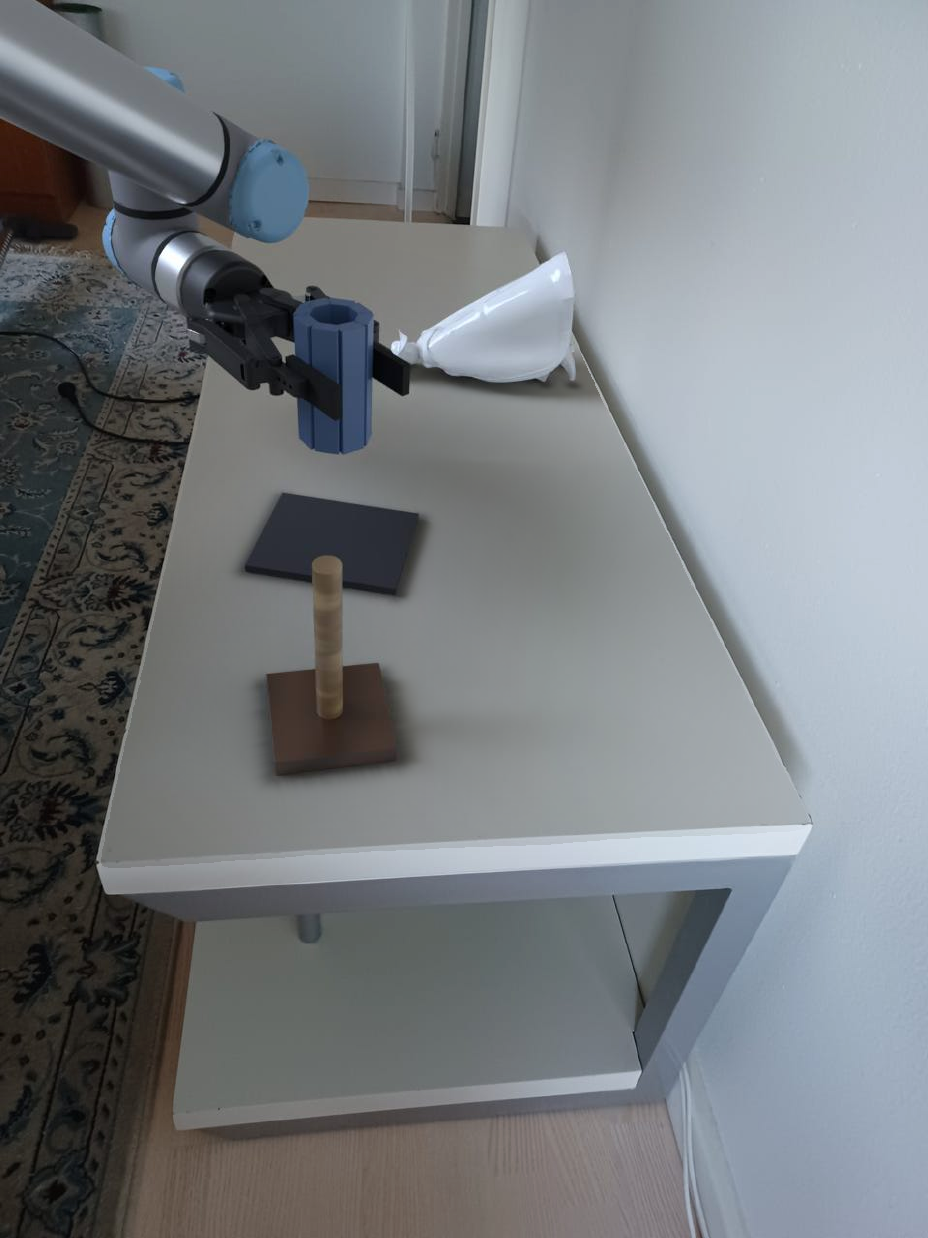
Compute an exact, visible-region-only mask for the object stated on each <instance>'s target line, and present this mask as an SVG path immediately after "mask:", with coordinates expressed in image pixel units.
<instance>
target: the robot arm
mask: <svg viewBox="0 0 928 1238" xmlns="http://www.w3.org/2000/svg"><path fill="white" fill-rule="evenodd" d="M0 119H1V120H3V121H5V122H7V123H9V124H10V125H13V126H16V127H18V128H19V129H22V130H24V131H25V132H28V133H30V134H32V135H34V136H37V137H38V138H40V139H42V140H45V141H46V142H47V141H48V143H51V144H53V145H55V146H57V147H59V148H61V149H63V150H65V151H67V152H70V153H72V154H74V155H76V156H78V157H80V158H82V159H84V160H86V161H89V162H91V163H92V164H95V165H96V166H99V167H101V168H103V169H104V170H107V171H108V177H109V183H110V186H111V193H112V201H113V206H112V207H113V209H111V211H110V212H109V213H108V214H107V217H106V220H105V223H104V226H103V230H102V234H101V235H102V244H103V245H102V246H103V248H104V251H105V254H106V256H107V258H108V259H109V261H110V262H111V264H112V265H113V266H114V267H115V268H116V269H117V270H118V271H119V272H121V274H123V275H124V276H125V277H126V279H127V280H129V282H130V283H132V284H133V285H135V286H137V287H138V288H140V289H143V290H144V291H146V292H148V293H149V294H151V295H152V296H154V297H155V298H157V299H158V300H159V301H161V302H163V303H164V304H165V305H167V306H168V307H169V308H171V309H173V310H174V311H175V312H177V313H178V314H180V315H181V316H182V317H184V318H185V321H186V329H187V336H188V337H187V338H188V344H189V348H191V349H193V350H195V351H198V352H200V353H203V354H206V356H207V357H209V358H210V359H211V360H213V361H214V362H215V363H216V364H217V365H219V366H220V367H221V368H222V369H223V370H224V371H226V372H227V373H228V374H229V375H231V377H233V378H234V379H235V381H237V382H238V383H240V385H242V386H243V387H244V388H245V389H247V390H249V391H257V390H259V389H260V388H261V384H268V385H269V386H268V388H269V389H268V390H269V395H271V396H275V397H279V396H280V397H281V396H283V395H284V394H285V392H286V393H287V394H289V395H290V396H291V397H293V398H295V399H297V398H298V399H300V398H303V399H304V400H306V401H307V402H309V403H310V404H311V405H313V406H314V407H316V408H317V409H319V410H320V411H321V412H323V413H324V414H326V415H327V416H329V417H330V418H331V419H333V420H334V421H336V420H339V419H342V418H343V388H342V386H340V385H339V384H337V383H336V382H334V381H333V380H331V379H330V378H328V377H327V376H325V375H324V374H322V373H321V372H319V371H318V370H316V369H315V368H313V367H312V366H310V365H308V364H307V363H306V362H304V361H303V360H301V359H300V358H298V357H297V356H295V353H291V354H288V355H285V356H284V360H285V362H284V361H283V355H282V353H281V352H280V350H279V349H278V347H277V345H276V344H275V343H274V341H273V340H272V338H279V339H282V340H285V341H287V342H290V343H293V344H295V342H294V319H293V314H294V312H295V311H296V310H297V308H298V307H299V305H300V304H304V302H307V301H312V300H316V299H321V298H327V299H328V300H329V299H330V298H332V297H330V296H329V295H326V294H325V293H324V291H323V290H322V289H321V288H320V287H319V286H316V285H308V286H306V287H305V293H304V294H303V295H296V296H293V295H292V294H291V293H290V292H288V291H286V290H283V289H278V288H275V287H274V285H273V284H272V283H271V281H270V280H269V278H268V277H267V275H266V274H265V272H264V271H263V270H262V269H261V267H259V266H258V265H257V264H254V263H253V262H251V261H249V260H248V259H246V258H245V257H243V256H241V255H240V254H238V253H236V252H234V251H233V250H232V249H231V248H229V247H227V246H226V245H224V244H222V243H221V242H219V241H216V240H215V239H214V238H211V237H209V236H208V235H206V234H205V233H203V232H201V230H200V226H199V217H198V215H199V216H202V217H203V218H206V219H208V220H210V221H211V222H214V223H215V224H218V225H219V226H222V227H224V228H226V229H228V230H231V231H233V232H234V233H236V234H238V235H240V236H241V237H244V238H246V239H253V240H255V241H257V242H260V243H265V244H275V243H279V242H282V241H284V240H286V239H288V238H289V237H290V236H292V235H293V234H294V233H295V232H296V230H298V229H299V227H300V225H301V224H302V222H303V220H304V219H303V218H304V216H305V214H306V210H307V208H308V205H309V199H310V183H309V179H308V174H307V171H306V169H305V167H304V165H303V164H302V162H301V161H300V160H299V158H298V157H297V156H296V155H295V153H293V152H291V151H290V150H288V149H286V148H284V147H282V146H280V145H278V144H277V143H276V142H274V141H273V140H271V139H267V138H261V137H258V136H255V135H253V134H252V133H250V132H248V131H246V130H244V129H243V128H242V127H240V126H238V125H237V124H235V123H233V122H232V121H230V120H229V119H227V118H225V117H224V116H222V115H220V114H218V113H216V112H215V111H213V110H211V108H209V107H208V106H207V105H205V104H203V103H201V102H200V101H198V100H196V99H195V98H193V97H192V96H190V95H188V94H187V93H186V92H185V87H184V83H183V81H182V80H181V79H180V77H179V76H178V75H177V74H176V73H175V72H173V71H170V70H167V69H164V68H158V67H152V66H142V65H140V64H139V63H137V62H136V61H134V60H132V59H131V58H130V57H127V56H126V55H124V54H123V53H121V52H120V51H118V50H117V49H114V48H113V47H112V46H110V45H109V44H107V43H106V42H103V41H102V40H100V38H99V39H98V38H97V37H96V36H95V35H92V34H91V33H89V32H88V31H86V30H84V29H83V28H81V27H80V26H78V25H77V24H75V23H73V22H72V21H70V20H68V19H67V18H65V17H64V16H62V15H60V14H59V13H57V12H55V10H52V9H51V8H49V7H47V6H46V5H44V4H42V3H41V2H39V1H37V0H0ZM411 365H412V364H410V363H408V362H407V361H405V360H403V359H402V358H400V357H398V356H397V355H395V354H393V352H392V351H391V348H389V347H387V346H386V345H384V344H382V343H381V342H380V322H379V321H378V320H375V319H374V329H373V380H375V381H377V382H378V383H380V384H382V385H383V386H385V387H386V388H387V389H390V390H391V391H392V392H394V393H396V394H397V395H399V396H401V397H405V396H407V395H410V386H411V385H410V383H411Z"/></svg>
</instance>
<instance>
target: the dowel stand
mask: <svg viewBox="0 0 928 1238" xmlns="http://www.w3.org/2000/svg"><path fill="white" fill-rule="evenodd" d="M311 583H312V610H313V611H312V612H313V641H314V643H313V644H314V668H311V669H302V670H293V671H292V670H291V671H283V672H282V671H281V672H271V673H266V674H265V679H266V691H267V701H268V712H269V721H270V722H269V723H270V731H271V732H270V734H271V743H272V753H273V763H274V774H275V775H276V776H281V775H289V774H297V773H305V772H312V771H320V770H328V769H336V768H345V767H353V766H361V765H369V764H376V763H384V762H391V761H397V760H398V751H399V747H398V746H399V745H398V742H397V739H396V738H397V737H396V734H395V728H394V724H393V720H392V715H391V711H390V707H389V702H388V697H387V693H386V689H385V685H384V679H383V675H382V671H381V667H380V662H373V663H372V662H371V663H363V664H352V665H344V633H343V631H344V627H343V626H344V619H343V616H344V613H343V608H344V607H343V604H344V603H343V600H344V599H343V597H344V596H343V595H344V594H343V593H344V592H343V591H344V589H343V588H344V587H343V584H342V562H341V561H340V560H339V559H338V558H337V557H334V556H329V555H325V556H320V557H318V558H316V559H315V560H314V561H313V563H312V582H311Z"/></svg>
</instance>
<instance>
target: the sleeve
mask: <svg viewBox="0 0 928 1238" xmlns="http://www.w3.org/2000/svg"><path fill="white" fill-rule="evenodd" d="M293 319H294V342H295V343H294V355H295V356H297V357H298V358H300V359H301V360H303V361H304V362H306V363H307V364H308V365H310V366H312V367H313V368H315V369H316V370H318V371H319V372H321V373H322V374H324V375H325V376H327V377H328V378H330V379H331V380H333V381H334V382H336V383H337V384H339V385H340V386H342V388H343V418H342V419H339V420H336V421H334V420H333V419H331V418H330V417H329V416H327V415H326V414H324V413H323V412H321V411H320V410H319V409H317V408H316V407H314V406H313V405H311V404H310V403H309V402H307V401H306V400H304V399H303V398H300V399H298V398H296V407H297V408H296V409H297V430H298V433H297V434H298V439H299V440H300V441H301V442H302V443H303V444H304V445H305V446H306V447H308V448H309V450H311V451H312V450H314V451H315V452H316V453H317V452H318V453H319V452H320V453H323V454H324V453H325V454H331V455H340V453H341V454H342V455H347V454H350V453H353V452H356V451H359V450H363V449H364V448H365V447H367V446H368V444H369V441H370V439H371V437H372V433H373V429H372V427H373V383H374V381H373V380H374V378H373V329H374V320H375V314H374V312H373V311H372V310H370V309H369V308H368V307H367V306H366V305H363V304H362V303H360V302H356V300H351V299H344V298H337V297H331V298H330V299H329V300H328V299H327V298H321V299H316V300H312V301H307V302H304V304H300V305H299V307H298V308H297V310H296V311H295V312H294V314H293Z"/></svg>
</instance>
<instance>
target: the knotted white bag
mask: <svg viewBox="0 0 928 1238" xmlns="http://www.w3.org/2000/svg"><path fill="white" fill-rule="evenodd" d="M567 255H568V254H567V253H566V252H565V251H561V252H560V253H558V254H556V255H554V256H552V257H551V258H550V259H548V260H547V261H544V262H542V263H541V264H540V265H539V266H537V267H535V268H534V269H531V270H530V271H528V272H526V273H524V274H523V275H520V276H519V277H517V278H515V279H513V280H511V281H509V282H508V283H505V284H503V285H502V286H500V287H498V288H496V289H494V290H492V291H491V292H489V293H487V294H485V295H483V296H482V297H480V298H478V299H477V300H474V301H473V302H471V303H469V304H467V305H466V306H464V307H461V308H460V309H459V310H456V311H455V312H453V313H452V314H450V315H449V316H447V317H446V318H444V319H442V320H441V321H439V322H437V323H436V324H434V325H433V326H431V327H430V328H428V329H425V330H423V331H422V332H421V335H420V336H419V337H418V339H417V340H416V342H415V341H408V336H407V335H406V334H404V333H402V332H401V330H400V329H398V334H399V340H397V339H396V340H394V341H392V342H391V345H390V346H391V347H390V349H391V351H392V352H393V354H395V355H397V356H398V357H400V358H402V359H403V360H405V361H407V362H408V363H410V364H411V365H414V364H415V363H416V364H417V363H418V362H419V361H421V363H422V365H423V367H425V368H427V369H430V368H439V369H441V370H443V371H444V373H445V374H448V375H449V376H452V377H470V378H471V377H472V378H474V379H478V380H480V381H484V382H488V383H514V382H523V381H528V380H529V381H530V380H533V379H535V380H537V381H539V382H543V383H546V381H547V379H548V377H549V376H550V373H551V372H552V371H553V370H555V369H556V368H557V367H559V365H560V366H561V367H563V368H564V370H565V371H566V373H567V374H568V378H569V381H572V382H575V380H576V374H577V373H576V372H577V371H576V362H575V357H574V356H573V354H574V353H575V351H576V350H575V345H574V344H570V343H571V339H572V330H573V321H574V320H573V319H574V308H575V301H576V295H577V292H576V291H577V290H576V287H575V283H574V279H573V275H572V270H571V267H570V263H569V259H568V256H567Z"/></svg>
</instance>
